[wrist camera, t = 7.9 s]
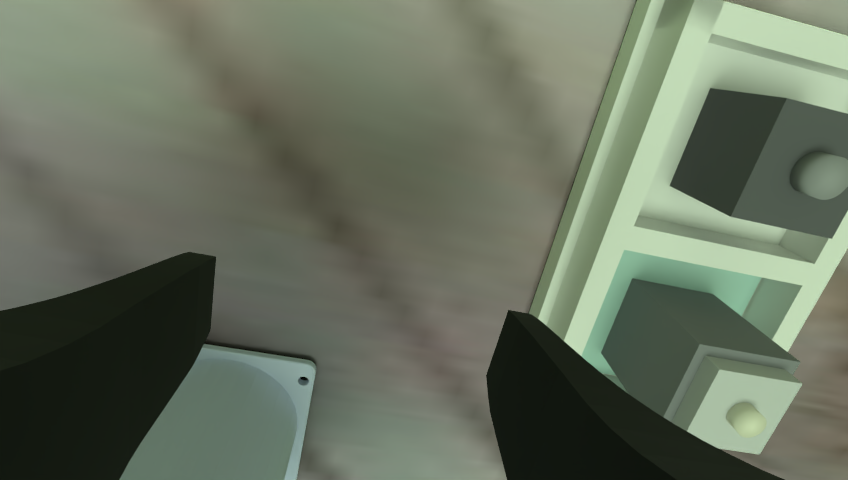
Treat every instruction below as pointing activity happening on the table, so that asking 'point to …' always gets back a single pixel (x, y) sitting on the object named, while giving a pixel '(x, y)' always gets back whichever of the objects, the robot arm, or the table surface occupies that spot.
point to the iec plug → (700, 365)
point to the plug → (768, 161)
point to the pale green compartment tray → (655, 167)
